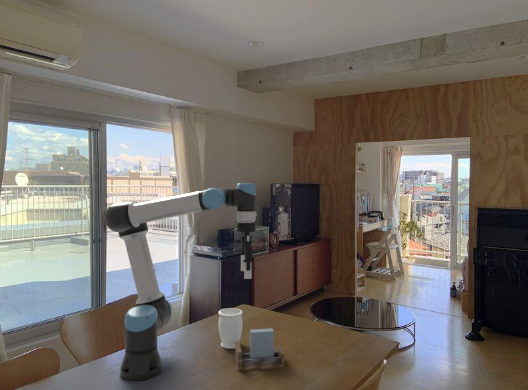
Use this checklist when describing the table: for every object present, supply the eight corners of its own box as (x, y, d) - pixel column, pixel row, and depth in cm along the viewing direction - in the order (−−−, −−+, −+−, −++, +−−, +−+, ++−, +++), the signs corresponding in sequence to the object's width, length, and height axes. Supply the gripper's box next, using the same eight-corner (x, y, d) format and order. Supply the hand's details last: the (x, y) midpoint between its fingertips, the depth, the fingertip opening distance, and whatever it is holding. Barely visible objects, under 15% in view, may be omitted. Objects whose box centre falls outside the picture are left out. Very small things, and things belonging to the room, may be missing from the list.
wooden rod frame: (237, 370, 149) (237, 352, 149) (235, 359, 159) (235, 341, 159) (284, 367, 152) (284, 349, 152) (279, 356, 162) (279, 339, 162)
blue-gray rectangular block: (250, 362, 154) (251, 332, 153) (249, 359, 157) (250, 329, 156) (273, 361, 155) (273, 331, 155) (272, 358, 158) (272, 328, 158)
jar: (213, 347, 171) (213, 312, 170) (226, 338, 180) (226, 306, 180) (234, 352, 166) (234, 316, 165) (246, 343, 175) (246, 310, 175)
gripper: (260, 224, 146) (259, 281, 146) (251, 218, 170) (251, 267, 171) (239, 225, 144) (239, 282, 145) (234, 219, 169) (234, 268, 170)
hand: (245, 274), depth 158 cm, fingers open, 13 cm apart
